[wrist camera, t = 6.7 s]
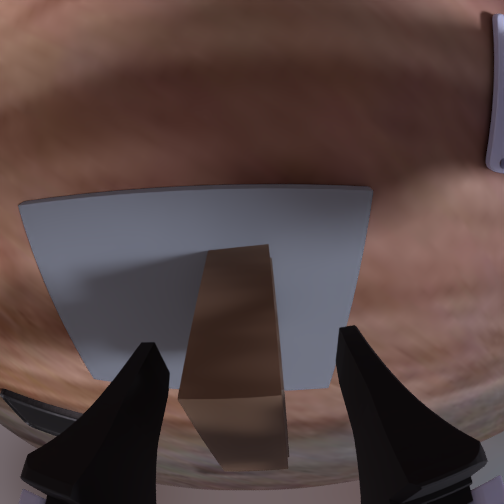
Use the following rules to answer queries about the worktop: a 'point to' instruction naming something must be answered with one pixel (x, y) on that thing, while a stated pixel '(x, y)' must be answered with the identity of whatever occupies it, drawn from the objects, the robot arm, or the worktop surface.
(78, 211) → the rubber mat
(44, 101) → the worktop surface
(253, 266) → the brown wooden block
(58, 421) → the phone
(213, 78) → the worktop surface
